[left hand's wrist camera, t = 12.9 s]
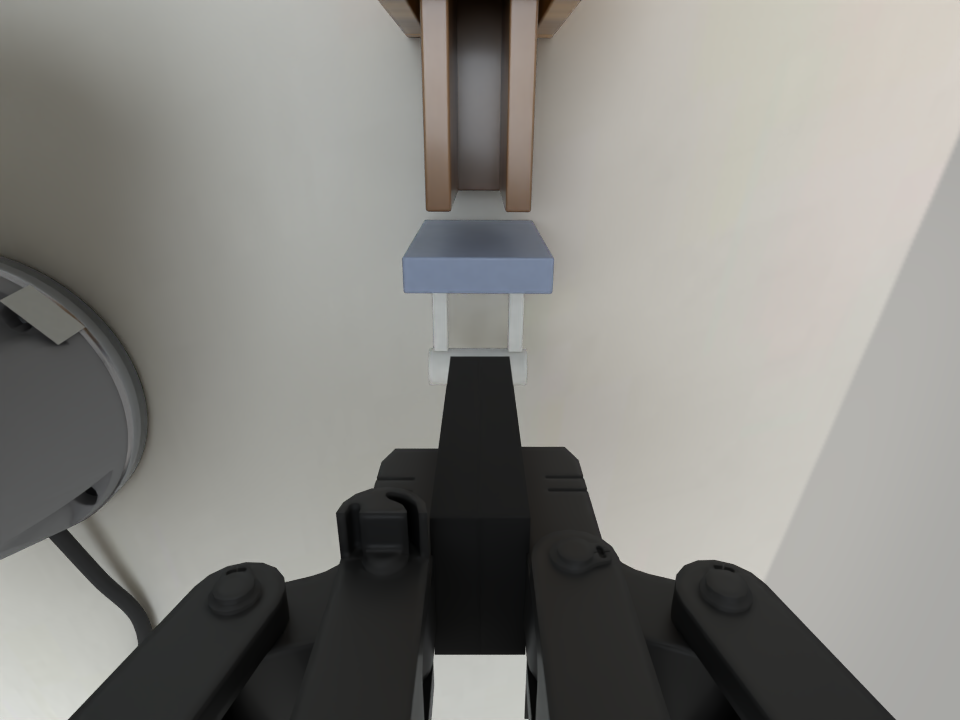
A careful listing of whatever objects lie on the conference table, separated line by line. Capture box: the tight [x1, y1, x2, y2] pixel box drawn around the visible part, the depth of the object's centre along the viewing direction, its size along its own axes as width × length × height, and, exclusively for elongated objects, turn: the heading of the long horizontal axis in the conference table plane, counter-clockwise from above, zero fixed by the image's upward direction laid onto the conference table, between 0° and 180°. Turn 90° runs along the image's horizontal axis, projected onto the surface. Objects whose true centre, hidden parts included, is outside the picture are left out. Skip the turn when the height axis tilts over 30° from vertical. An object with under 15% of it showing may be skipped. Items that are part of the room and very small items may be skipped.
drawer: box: [402, 0, 554, 385], centre depth 20 cm, size 24×5×8 cm, turn 0°
